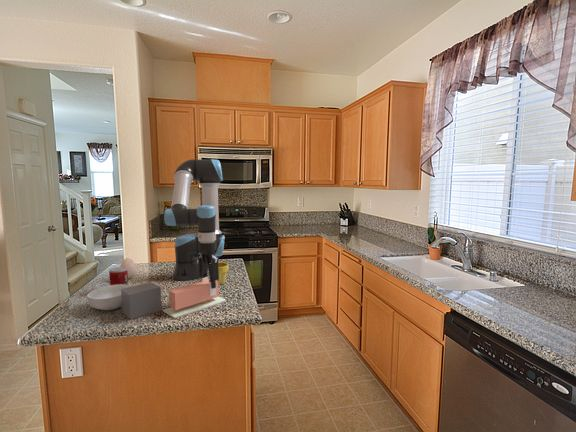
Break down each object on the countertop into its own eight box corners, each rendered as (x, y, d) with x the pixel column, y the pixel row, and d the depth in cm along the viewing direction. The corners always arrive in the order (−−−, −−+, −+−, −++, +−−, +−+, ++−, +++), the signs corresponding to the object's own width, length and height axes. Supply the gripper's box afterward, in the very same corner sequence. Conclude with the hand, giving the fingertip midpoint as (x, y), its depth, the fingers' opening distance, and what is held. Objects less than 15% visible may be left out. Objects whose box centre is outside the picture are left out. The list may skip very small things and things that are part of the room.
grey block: (154, 303, 135) (152, 281, 134) (163, 309, 128) (162, 286, 127) (122, 312, 126) (120, 288, 125) (131, 319, 119) (129, 294, 118)
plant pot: (232, 280, 166) (232, 262, 164) (222, 286, 156) (221, 268, 155) (215, 278, 169) (215, 261, 168) (204, 284, 159) (204, 266, 158)
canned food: (121, 294, 147) (119, 271, 145) (106, 293, 148) (105, 270, 147) (132, 288, 154) (131, 267, 153) (118, 287, 156) (116, 266, 154)
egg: (140, 276, 173) (138, 256, 171) (129, 281, 165) (128, 260, 164) (128, 275, 175) (126, 256, 173) (117, 280, 167) (115, 259, 166)
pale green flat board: (213, 295, 144) (213, 294, 144) (226, 301, 137) (226, 299, 137) (163, 311, 127) (163, 309, 127) (174, 318, 120) (174, 317, 120)
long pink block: (212, 293, 141) (212, 278, 140) (218, 296, 137) (218, 281, 136) (169, 306, 126) (169, 290, 126) (175, 310, 123) (174, 293, 122)
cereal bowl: (104, 299, 141) (103, 283, 140) (140, 299, 140) (139, 284, 140) (78, 315, 124) (77, 298, 123) (119, 315, 124) (118, 298, 123)
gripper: (188, 239, 137) (191, 290, 140) (211, 245, 125) (213, 301, 127) (203, 237, 143) (205, 286, 145) (226, 242, 130) (228, 296, 133)
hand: (209, 293), depth 136 cm, fingers closed on long pink block, 5 cm apart
